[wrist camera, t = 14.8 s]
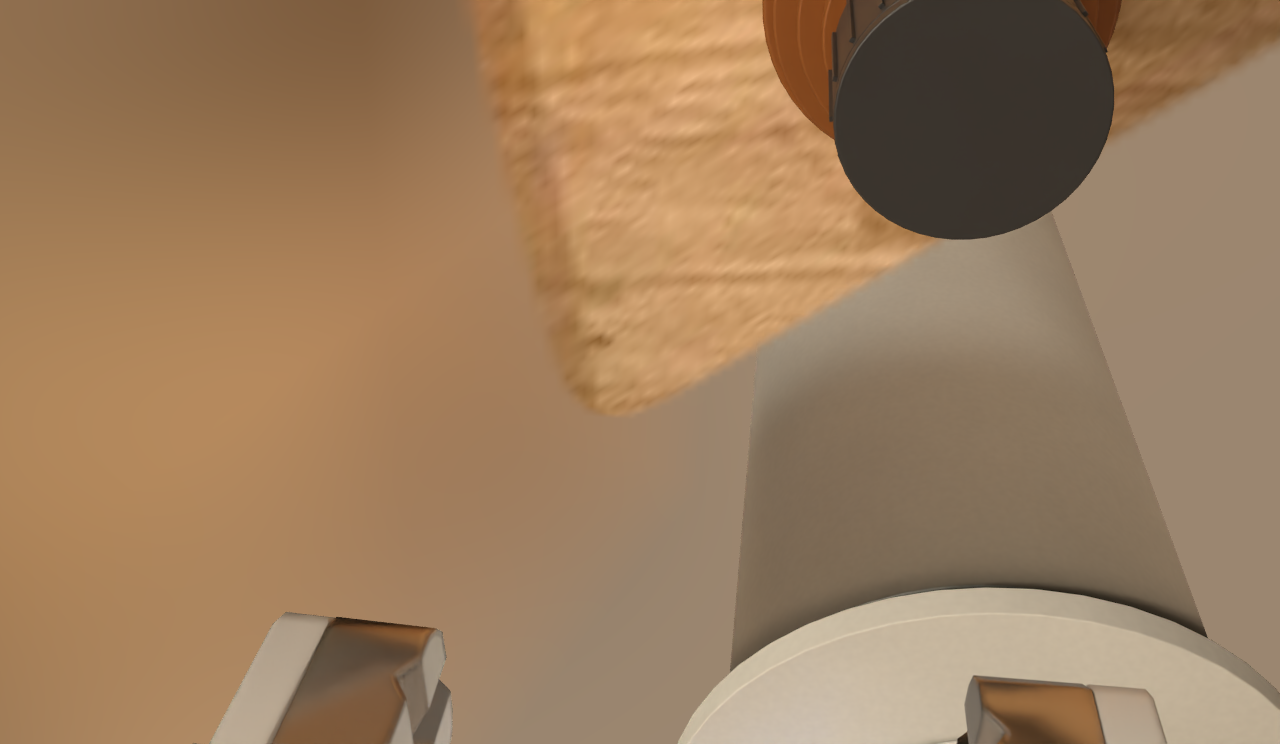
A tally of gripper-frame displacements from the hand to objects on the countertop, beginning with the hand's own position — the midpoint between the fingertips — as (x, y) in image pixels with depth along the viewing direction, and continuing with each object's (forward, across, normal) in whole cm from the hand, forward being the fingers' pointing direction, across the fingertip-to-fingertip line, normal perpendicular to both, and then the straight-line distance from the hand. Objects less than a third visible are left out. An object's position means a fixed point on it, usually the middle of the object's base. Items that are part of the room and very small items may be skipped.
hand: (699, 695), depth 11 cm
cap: (+12, -3, -2) cm, 13 cm away
